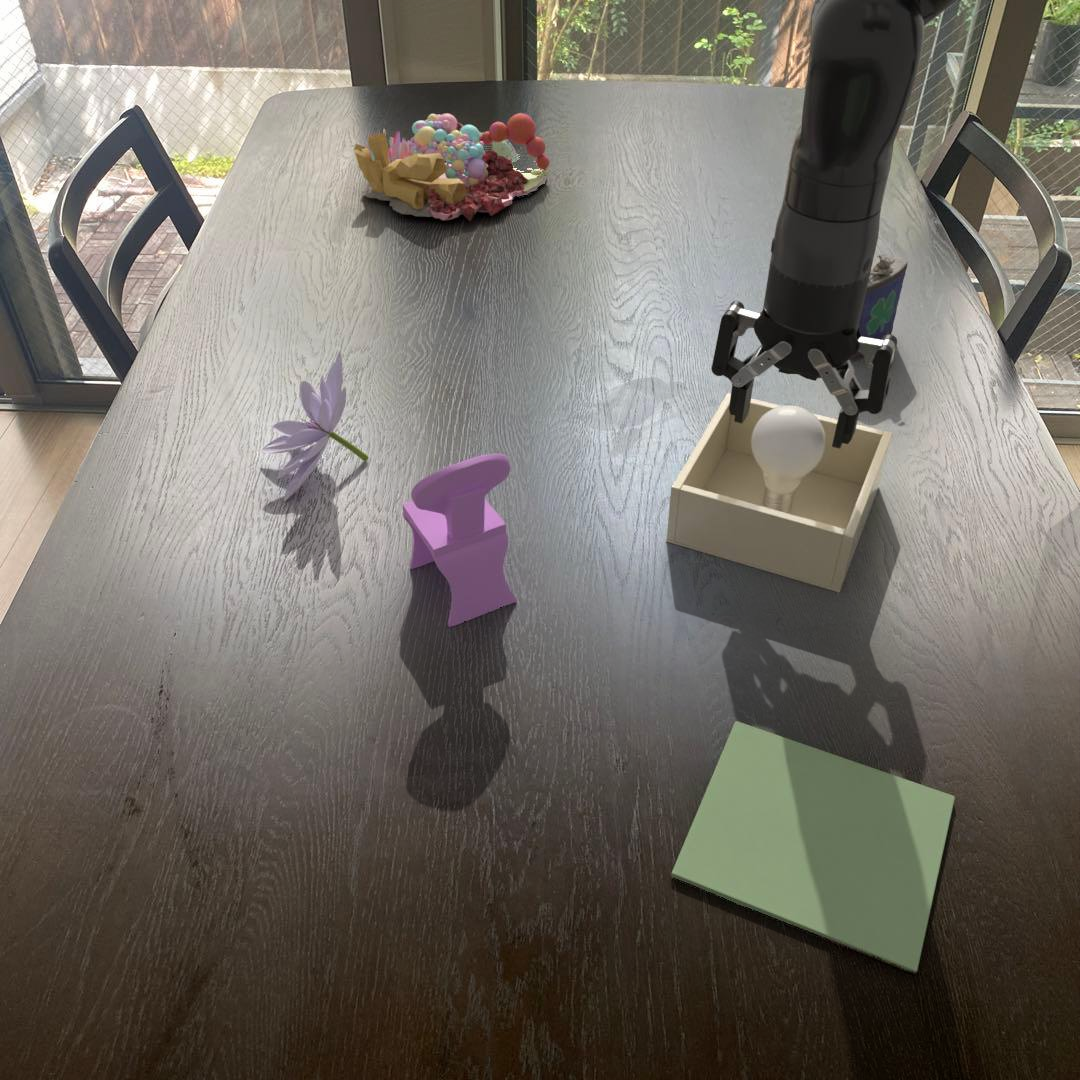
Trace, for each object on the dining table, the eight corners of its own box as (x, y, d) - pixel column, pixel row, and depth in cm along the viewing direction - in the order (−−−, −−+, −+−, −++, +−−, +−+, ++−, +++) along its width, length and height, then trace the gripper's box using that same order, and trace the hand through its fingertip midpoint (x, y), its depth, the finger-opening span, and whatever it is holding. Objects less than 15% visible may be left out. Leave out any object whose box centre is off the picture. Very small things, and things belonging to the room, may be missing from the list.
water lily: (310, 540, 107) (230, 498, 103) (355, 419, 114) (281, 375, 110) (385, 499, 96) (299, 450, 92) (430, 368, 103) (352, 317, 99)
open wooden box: (879, 486, 102) (893, 432, 98) (839, 592, 91) (853, 537, 87) (720, 445, 107) (727, 392, 103) (666, 541, 96) (670, 486, 92)
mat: (953, 801, 76) (955, 796, 76) (915, 976, 67) (917, 971, 66) (734, 725, 81) (735, 720, 81) (670, 877, 72) (671, 873, 71)
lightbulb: (734, 525, 98) (749, 426, 90) (748, 483, 102) (763, 385, 95) (805, 540, 96) (826, 440, 89) (815, 496, 100) (836, 398, 93)
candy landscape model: (474, 240, 140) (470, 170, 134) (330, 201, 149) (320, 135, 142) (568, 169, 156) (568, 104, 149) (433, 138, 165) (428, 76, 158)
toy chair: (482, 536, 97) (473, 398, 87) (527, 597, 91) (524, 456, 81) (396, 567, 94) (377, 428, 84) (438, 632, 89) (422, 491, 78)
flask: (877, 324, 123) (897, 237, 116) (899, 334, 122) (921, 247, 114) (829, 355, 119) (847, 267, 111) (851, 366, 117) (871, 277, 110)
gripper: (926, 255, 82) (881, 427, 93) (745, 219, 87) (723, 388, 98) (906, 300, 77) (861, 477, 88) (716, 260, 82) (695, 433, 93)
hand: (788, 430), depth 93 cm, fingers open, 8 cm apart
